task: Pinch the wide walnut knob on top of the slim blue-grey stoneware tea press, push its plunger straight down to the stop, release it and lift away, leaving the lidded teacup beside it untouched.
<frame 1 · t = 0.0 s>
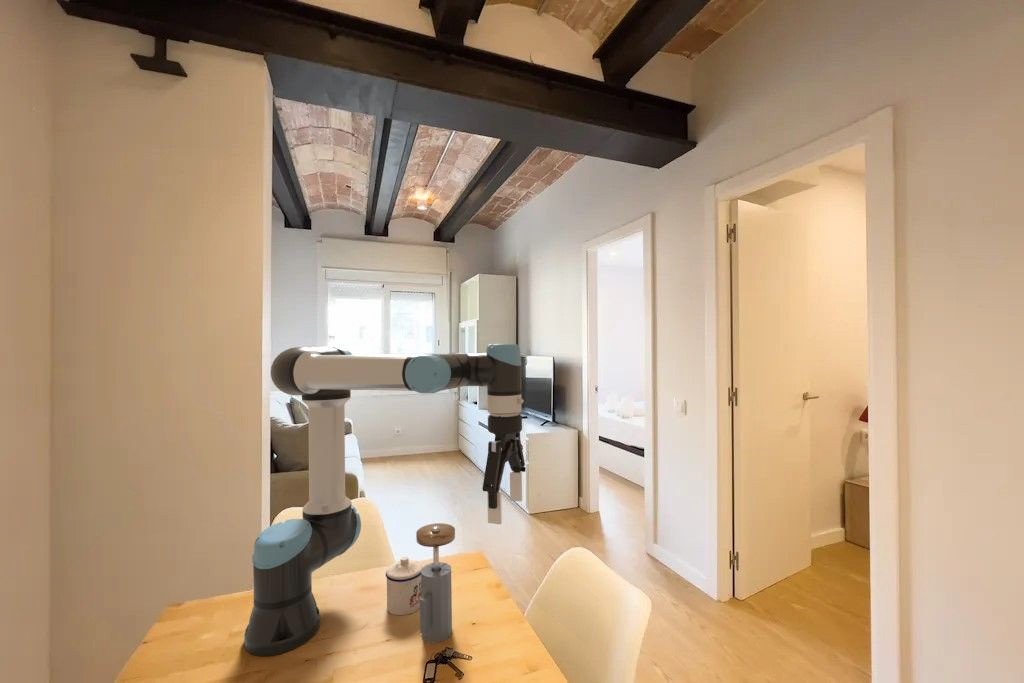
hand: (506, 511, 94), 28 cm above the table, fingers open, 13 cm apart
plunger: (436, 559, 97), point 16 cm above the table, slide at 0.0 cm
teacup with lid: (407, 602, 109), on the table
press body: (437, 632, 97), on the table
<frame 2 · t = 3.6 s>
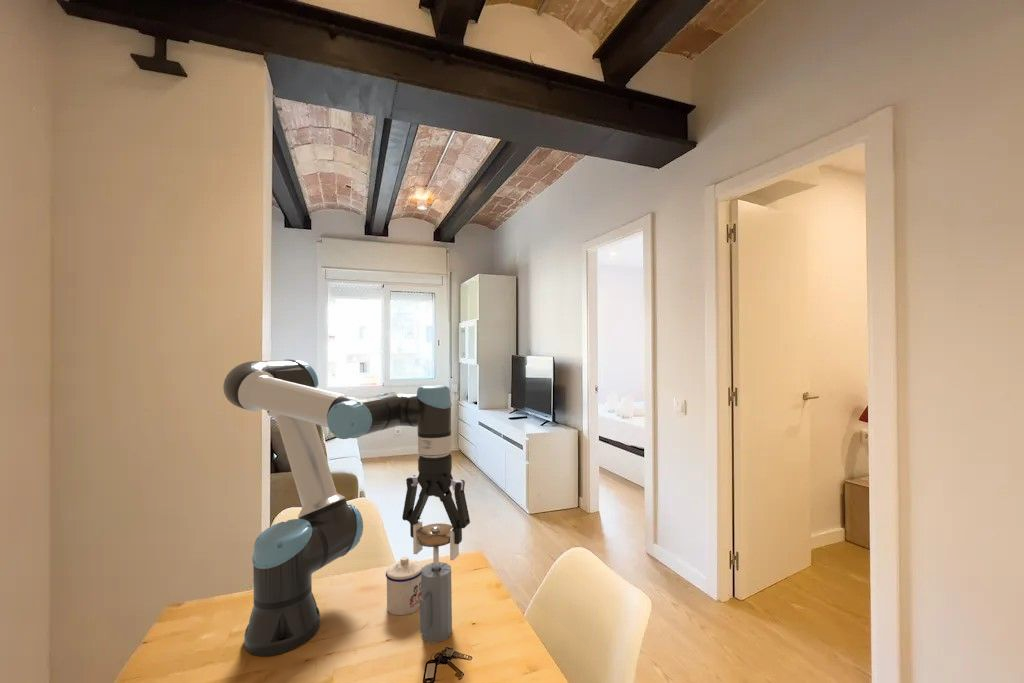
hand: (436, 554, 97), 17 cm above the table, fingers closed on plunger, 9 cm apart
plunger: (436, 559, 97), point 16 cm above the table, slide at 0.0 cm, touching gripper
everything else where it was.
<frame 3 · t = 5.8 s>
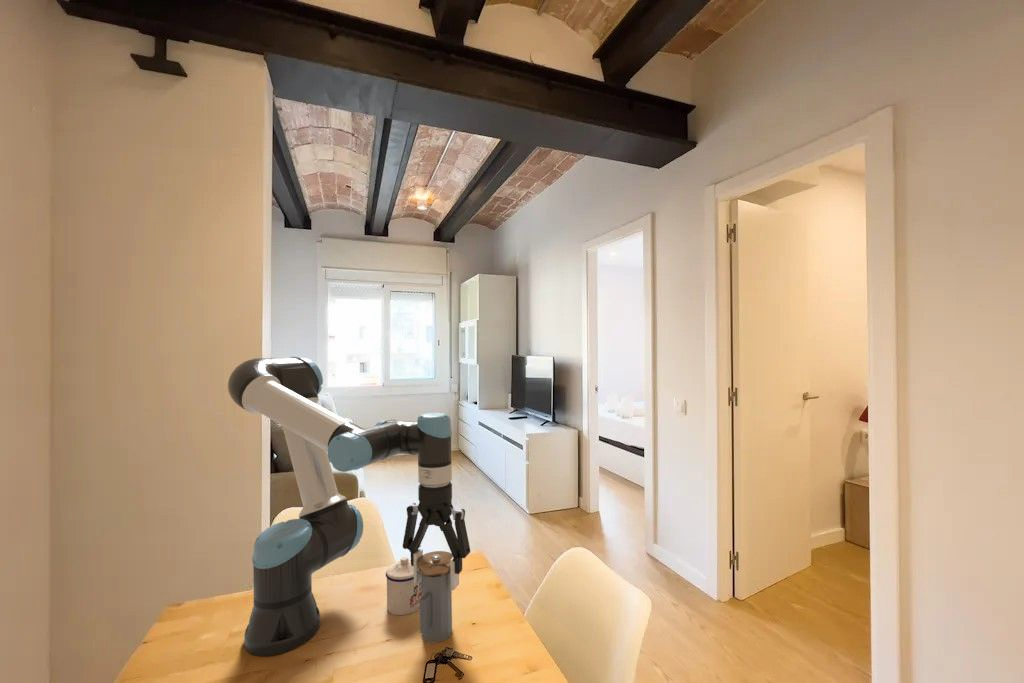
hand: (436, 583, 97), 11 cm above the table, fingers closed on plunger, 9 cm apart
plunger: (436, 588, 97), point 10 cm above the table, slide at 6.5 cm, touching gripper
everything else where it was.
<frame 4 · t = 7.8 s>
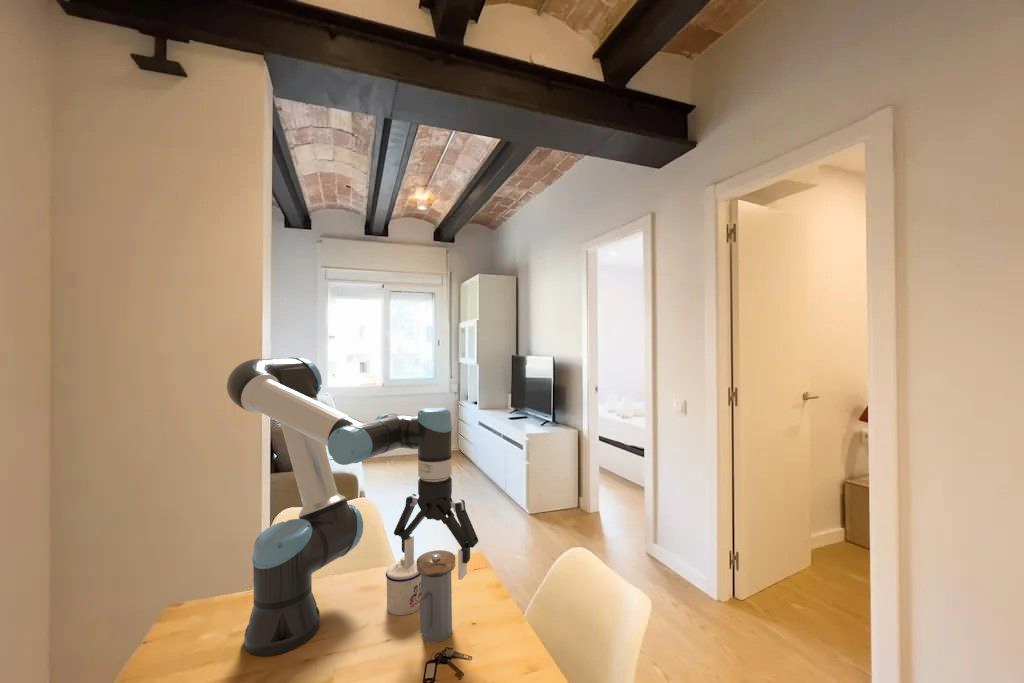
hand: (435, 571, 97), 13 cm above the table, fingers open, 13 cm apart
plunger: (436, 587, 97), point 10 cm above the table, slide at 6.3 cm
everything else where it was.
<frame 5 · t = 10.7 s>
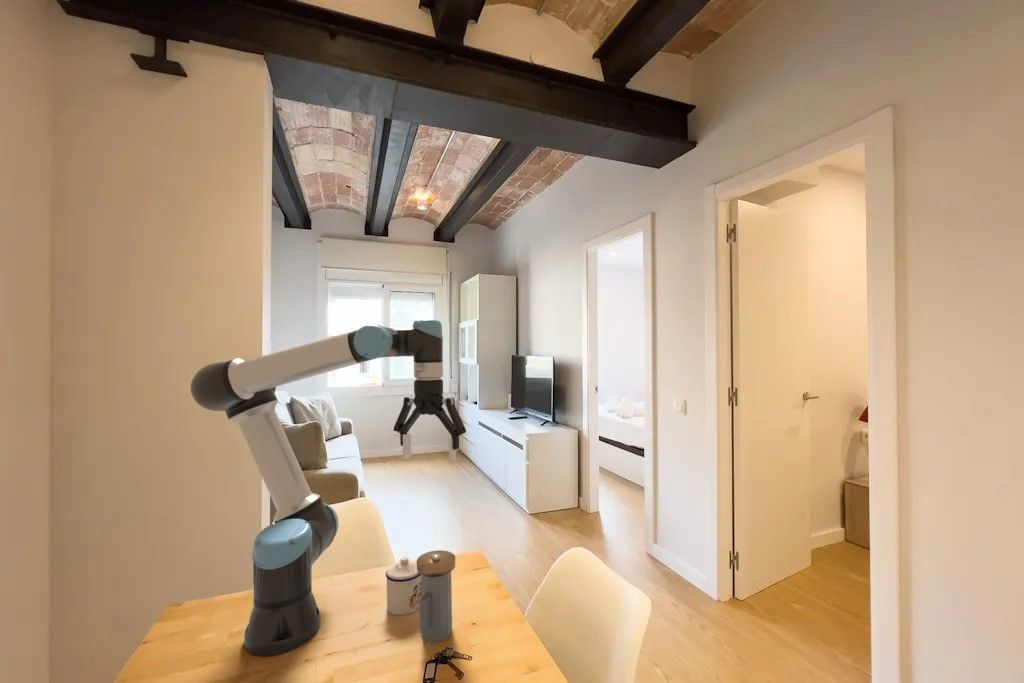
hand: (429, 460, 113), 35 cm above the table, fingers open, 13 cm apart
nothing on the table moved.
at the end: plunger slide at 6.3 cm; the gripper is holding nothing; teacup with lid moved 0.2 cm from its start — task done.
